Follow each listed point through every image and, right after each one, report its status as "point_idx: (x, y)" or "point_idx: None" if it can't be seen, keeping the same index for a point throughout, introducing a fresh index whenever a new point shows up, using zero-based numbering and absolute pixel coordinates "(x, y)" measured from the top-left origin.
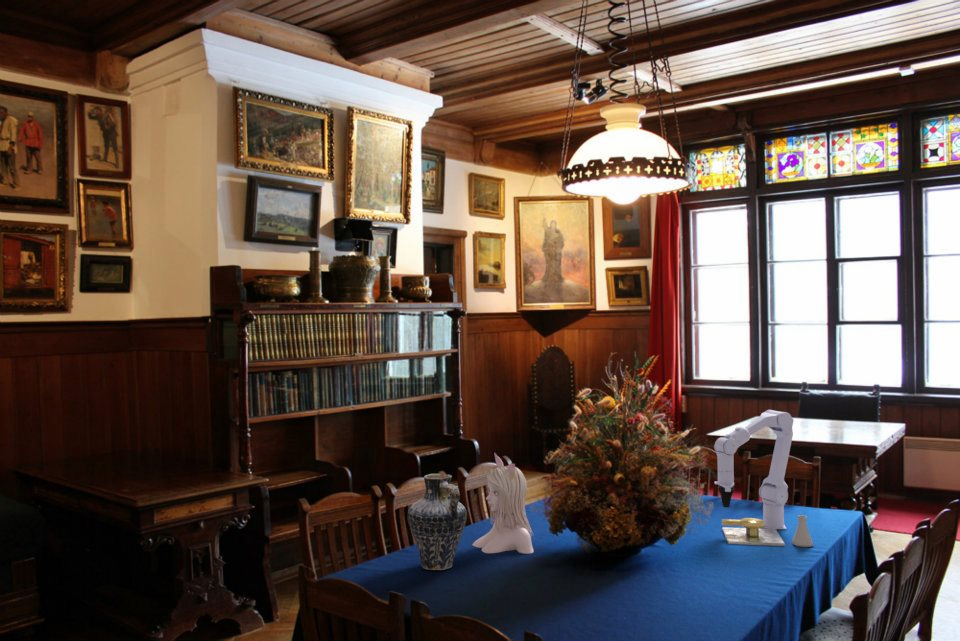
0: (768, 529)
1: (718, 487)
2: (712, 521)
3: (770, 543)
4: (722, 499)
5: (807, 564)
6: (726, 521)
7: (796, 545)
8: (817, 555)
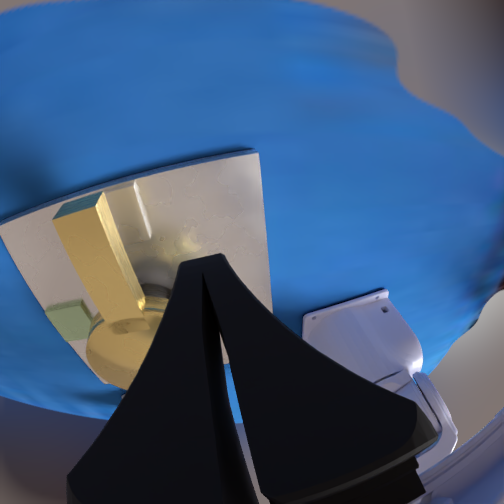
0: None
1: (362, 481)
2: (408, 103)
3: (81, 356)
4: (158, 338)
5: (9, 395)
6: (65, 244)
7: (124, 394)
8: (80, 413)
